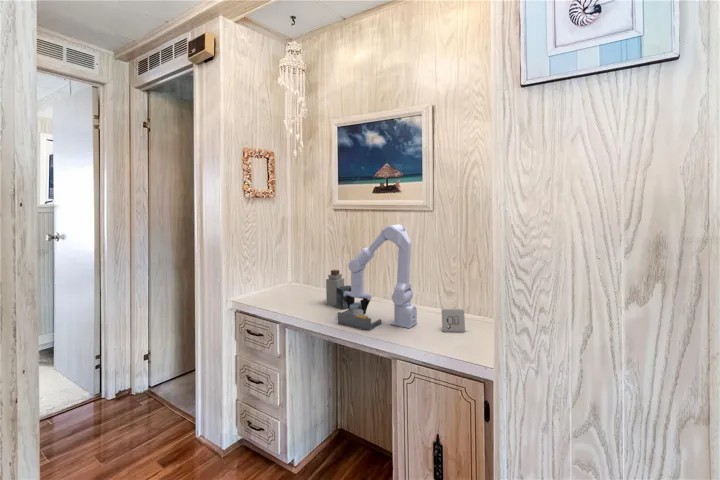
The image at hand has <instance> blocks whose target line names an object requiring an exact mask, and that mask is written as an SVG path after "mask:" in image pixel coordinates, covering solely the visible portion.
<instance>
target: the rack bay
mask: <svg viewBox="0 0 720 480" xmlns="http://www.w3.org/2000/svg"><path fill="white" fill-rule="evenodd" d="M382 321H383V320H382V319H381V318H378V319H377V320H375V321H372V318H370V317H368V316H367V315H366V316H365V315H364V316H363V310H361V309H355V308H351V309H349V308H348V309H346V310H345V311H343V312H340V311H339V312H337V325H341V326H346V327H350V328H355V329H360V330H363V331H371V330H373V329H375V328H377V327H379V326H381V325H382Z"/></svg>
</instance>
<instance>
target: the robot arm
mask: <svg viewBox="0 0 720 480" xmlns="http://www.w3.org/2000/svg"><path fill="white" fill-rule="evenodd" d="M407 232H408V231H407V228H406V227H405V226H403V224H399V223H396V224H392V225H387V226H385V227H384V229H382V230H381V231H380V233H379V234H378V235H377V237H376V238H375V239H374V241H372V243H371V244H370V245H369V246H368V247H364V248H361V250H360V252H359V253H358V254H357V255H356V256H354V259H351V260H350V261H349V263H348V269H349V271H350V286H351V292H348V291H345V292H344V296H346V297H345V298H344V299H345V301H346V303H347V305H348V308H347V309H348V310H349V309H350V305H351V304H353V302H354V297H355V299H356V298H357V299H361V300H360V301H359V302H361V306H362V310H363V315H364V314H365V315H366V313H367V309H368V306H369V304H370V301H371V300H372V295H371V294H367V293H364V270H365V269H366V265H367V264H368V263H369V262H370V261H371V260H372V259H373V258H374V256H375V252H376V251H377V250H378V249H379V248H380V247H381V246H382V245H383V244H384V243H385V242H387V241H390V242H391V243H393V244H395V245H396V246H397V248H398V252H397V253H398V254H397V272H396V273H397V275H396V276H397V277H396V284H395V286H394V290H393V293H392V294H391V295H392V296H391V299H392V302H393V305H394V311H393V312H394V314H393V315H394V316H393V317H394V321H392V322H390V325H391V326H398V327H402V328H406V329H411V328H412V327H414V326H415V325H417V324H418V320H417V318H418V315H417V314H418V310H417V306H415V305H412V302H411V300H412V298H413V297H414V293H413V290H412V284H411V283H410V276H411V275H410V274H411V273H410V272H411V253H412V241H411V239H410V237H409V235H408V233H407ZM365 315H364V316H365Z"/></svg>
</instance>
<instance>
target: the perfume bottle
mask: <svg viewBox="0 0 720 480" xmlns="http://www.w3.org/2000/svg"><path fill="white" fill-rule="evenodd" d="M327 277H328V278H325V291H326V305H328V306H332V307H337V293H336V291H337V290H336V289H337V288H336V287H342V286H345V278H344V277H343V274H341V273H340V270H339V269H332V270H330V274H327Z"/></svg>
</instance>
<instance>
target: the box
mask: <svg viewBox="0 0 720 480" xmlns="http://www.w3.org/2000/svg"><path fill="white" fill-rule="evenodd" d="M336 288H337V289H336V290H337V291H336V293H337V306H336V308H338V309H339V310H348V309H349V308H348V305H347V303H346V301H345V299H344V298H345V297H346V296H344V292H345V291H348V292H351V285H350V284H348V285H344V286H342V287H336ZM355 299H356V298H355V297H354V302H353V303H356V301H355Z"/></svg>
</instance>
